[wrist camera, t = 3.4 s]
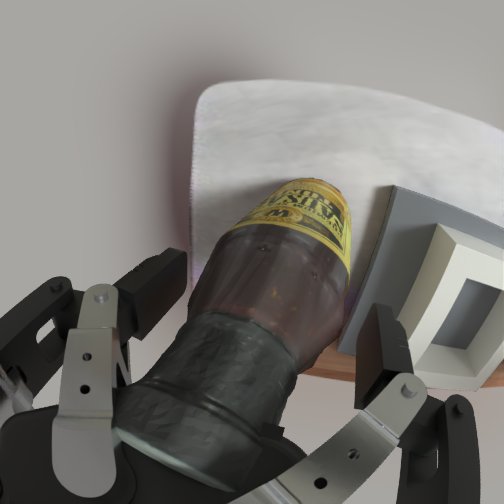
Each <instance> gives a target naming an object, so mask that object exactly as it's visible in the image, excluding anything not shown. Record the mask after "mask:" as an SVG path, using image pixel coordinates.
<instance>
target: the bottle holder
mask: <svg viewBox="0 0 504 504" xmlns="http://www.w3.org/2000/svg"><path fill="white" fill-rule="evenodd" d="M373 303H379V304H383V305H387V306H391V307H392V311H393V316H394V320H397V321H400V323H401V324H402V326H403V327H404V329H405V330H406V335H407V339H408V340H407V341H408V344H409V349H410V354H411V359H412V364H413V370H414V375H416V376H417V377H419V378H420V379H421V380H422V381H423V382H424V384H425V386H426V387H427V388H436V389H447V390H460V391H475V392H476V391H477V390H478V389H479V388H480V387H481V386H482V385H483V383H484V382H485V381H486V380H487V379H488V378H489V376H490V375H491V374H492V373H493V372H494V370H495V369H496V368H497V367H498V365H499V364H500V363H501V361H502V360H503V359H504V228H502V227H500V226H498V225H496V224H494V223H491V222H489V221H487V220H485V219H483V218H480V217H478V216H476V215H474V214H471V213H469V212H467V211H464V210H462V209H459V208H457V207H454V206H452V205H449V204H447V203H444V202H442V201H439V200H436V199H434V198H431V197H428V196H425V195H423V194H420V193H417V192H414V191H411V190H408V189H405V188H402V187H399V186H396V185H393V189H392V193H391V197H390V201H389V204H388V208H387V211H386V215H385V218H384V221H383V225H382V228H381V231H380V234H379V237H378V240H377V244H376V247H375V249H374V252H373V255H372V258H371V261H370V264H369V267H368V269H367V272H366V275H365V277H364V280H363V283H362V285H361V288H360V290H359V293H358V295H357V298H356V300H355V303H354V305H353V308H352V310H351V312H350V315H349V317H348V319H347V322H346V324H345V326H344V328H343V331H342V333H341V335H340V337H339V339H338V343H337V352H341V353H345V354H349V355H354V356H356V342H357V337H358V334H359V331H360V329H361V327H362V325H363V323H364V321H365V319H366V317H367V314H368V312H369V310H370V308H371V306H372V304H373Z"/></svg>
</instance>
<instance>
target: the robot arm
mask: <svg viewBox="0 0 504 504" xmlns="http://www.w3.org/2000/svg"><path fill="white" fill-rule="evenodd" d="M186 285H187V253H186V252H184V251H181V250H178V249H174V248H168V249H166V250H165V251H164V252H162V253H161V254H160V255H155V256H153V257H150V258H147V259H146V260H144V261H143V262H142V263H141V264H139V266H136V267H135V268H134V269H133V271H132V270H131V271H130V272H128V273H127V274H126V275H125V276H123V277H122V278H121V279H119V280H118V281H117V282H116V283H114V284H113V285H109V284H98V285H95V286H92V287H90V288H89V289H88V290H87V291H86V292H84V291H78V290H73V288H72V284H71V281H70V280H69V279H68V278H67V277H63V276H59V277H54V278H51V279H49V280H48V281H46V282H45V283H43V284H42V285H41V286H40V287H38V288H37V289H36V290H34V291H33V292H32V293H30V294H29V295H28V296H27V297H25V298H24V299H23V300H22V301H21V302H19V303H18V304H17V305H16V306H14V307H13V308H12V309H11V310H10V311H8V312H7V313H6V314H5V315H4V316H3V317H1V318H0V504H342V503H343V502H344V501H345V500H346V499H347V498H349V497H350V496H351V495H352V494H353V493H354V492H355V491H356V490H357V489H358V488H359V487H360V486H361V485H362V484H363V483H364V482H365V481H366V480H367V479H368V478H369V477H370V476H371V475H372V474H373V473H374V472H375V470H376V469H377V468H378V467H379V466H380V465H381V464H382V463H383V462H384V460H385V459H386V458H387V457H388V456H389V454H390V453H391V452H392V451H393V450H394V448H395V447H396V446H397V447H399V448H402V458H401V469H400V479H399V487H398V494H397V501H396V504H480V459H479V447H478V438H477V430H476V423H475V417H474V411H473V407H472V405H471V403H470V402H469V401H468V400H467V399H466V398H465V397H463V396H461V395H458V394H455V395H451V396H450V397H449V398H448V399H447V400H446V401H445V402H443V401H441V400H439V399H436V398H434V397H431V396H429V395H428V394H427V388H426V386H425V384H424V382H423V381H422V380H421V379H420V378H419V377H417V376H416V375H414V370H413V364H412V359H411V354H410V349H409V344H408V341H407V340H408V339H407V335H406V330H405V329H404V327H403V326H402V324H401V323H400V321H397V320H394V316H393V311H392V307H391V306H387V305H383V304H379V303H373V304H372V306H371V308H370V310H369V312H368V314H367V317H366V319H365V321H364V323H363V325H362V327H361V329H360V331H359V334H358V337H357V342H356V382H355V403H354V409H360V410H361V411H360V412H359V413H358V414H357V415H356V416H355V417H354V418H353V419H352V420H351V421H350V422H348V424H346V425H345V426H344V427H343V428H342V429H340V431H338V432H337V433H336V434H335V435H333V436H332V437H331V438H330V439H329V440H327V442H325V443H324V444H322V445H321V446H320V447H319V448H317V449H316V450H315V451H313V452H312V453H311V454H310V455H308V456H307V454H306V453H305V452H304V451H303V450H302V449H301V448H300V447H298V446H297V445H296V444H295V443H293V442H292V441H290V440H289V439H287V438H285V437H283V432H284V429H285V428H284V427H280V426H277V425H273V424H269V423H265V422H263V425H262V427H261V430H260V432H261V434H262V437H261V443H262V445H263V450H262V452H261V453H260V455H259V456H258V458H257V459H256V461H255V464H254V466H253V468H252V469H251V471H250V472H249V474H248V476H247V478H246V481H245V483H244V484H243V485H242V488H241V489H240V490H238V491H235V492H226V491H223V490H220V489H217V488H213V487H210V486H208V485H206V484H204V483H201V482H199V481H197V480H195V479H192V478H190V477H188V476H186V475H184V474H182V473H180V472H177V471H175V470H173V469H171V468H169V467H167V466H165V465H163V464H162V463H160V462H158V461H157V460H155V459H153V458H151V457H149V456H147V455H145V454H144V453H142V452H140V451H139V450H137V449H135V448H134V447H132V446H130V445H129V444H127V443H126V442H124V441H122V440H121V438H120V436H119V435H118V433H117V430H116V406H117V398H118V396H119V394H120V392H121V391H122V389H123V388H124V387H126V386H127V385H129V384H132V381H131V370H130V351H129V341H128V340H129V339H130V338H131V337H132V336H133V337H135V338H137V339H139V340H141V341H142V340H143V339H144V338H145V337H146V335H147V334H148V333H149V332H150V331H151V330H152V329H153V328H154V326H155V325H156V324H157V323H158V322H159V321H160V320H161V319H162V317H163V316H164V315H165V314H166V313H167V312H168V311H169V309H170V308H171V307H172V306H173V305H174V304H175V303H176V302H177V301H178V300H179V298H180V297H181V296H182V295H183V294H184V292H185V289H186ZM51 318H52V320H53V323H54V325H55V328H54V329H53V330H52V331H51V332H50V333H49V334H48V335H47V336H46V337H45V338H43V340H41V341H40V342H39V343H37V341H36V335H37V332H38V330H39V329H40V328H41V327H42V326H43V325H45V324H46V323H47V322H48V321H49V320H50V319H51ZM62 365H63V369H62V377H61V386H60V397H59V404H58V405H53V406H49V407H44V408H39V409H34V408H33V407H32V404H33V399H34V397H35V396H36V395H37V394H38V393H39V391H40V390H41V389H42V388H43V387H44V386H45V384H46V383H47V382H48V381H49V380H50V379H51V377H52V376H53V375H54V374H55V373H56V372H57V371H58V369H59V368H60V367H61V366H62ZM437 450H438V468H437Z"/></svg>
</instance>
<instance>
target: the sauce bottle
mask: <svg viewBox="0 0 504 504" xmlns="http://www.w3.org/2000/svg"><path fill="white" fill-rule="evenodd" d="M350 249H351V215H350V210H349V207H348V205H347V203H346V201H345V199H344V197H343V196H342V195H341V192H340V191H339V190H338V189H337V188H335V187H334V186H332V185H331V184H329V183H327V182H325V181H323V180H319V179H315V178H305V179H297V180H294V181H291V182H289V183H287V184H285V185H284V186H282V187H281V188H280V189H278V190H277V191H276V192H275V193H273V194H272V195H271V196H270V197H269V198H267V199H266V200H265V201H263V202H262V203H261V204H260V205H259V206H257V207H256V208H255V209H254V210H253V211H251V212H250V213H249V214H248V215H246V216H245V217H244V218H243V219H242V220H241V221H240V222H238V223H237V224H236V225H235V226H233V227H232V228H231V229H230V230H229V231H228V232H226V233H225V234H224V235H223V236H222V237H221V238H220V239H219V241H218V242H217V244H216V246H215V248H214V250H213V252H212V254H211V256H210V258H209V260H208V262H207V264H206V266H205V268H204V270H203V272H202V274H201V276H200V278H199V280H198V282H197V284H196V286H195V288H194V290H193V292H192V294H191V297H190V299H189V302H188V305H187V306H188V317H187V322H186V323H185V324H184V325H183V326H182V327H181V328H180V329H179V331H178V333H177V335H176V337H175V340H174V341H173V343H172V344H171V345H170V346H169V347H168V349H167V350H166V351H165V352H164V353H163V354H162V355H161V357H160V358H159V360H158V361H157V362H156V363H155V365H154V366H153V367H152V368H151V369H150V370H149V371H148V373H147V374H146V375H145V376H144V377H143V378H142V379H140V380H139V381H137V382H135V383H133V384H129V385H127V386H126V387H124V388H123V389H122V391H121V392H120V394H119V396H118V398H117V406H116V430H117V433H118V435H119V436H120V438H121V440H122V441H124V442H126V443H127V444H129V445H130V446H132V447H134V448H135V449H137V450H139V451H140V452H142V453H144V454H145V455H147V456H149V457H151V458H153V459H155V460H157V461H158V462H160V463H162V464H163V465H165V466H167V467H169V468H171V469H173V470H175V471H177V472H180V473H182V474H184V475H186V476H188V477H190V478H192V479H195V480H197V481H199V482H201V483H204V484H206V485H208V486H210V487H213V488H217V489H220V490H223V491H226V492H235V491H238V490H240V489H241V488H242V485H243V484H244V483H245V481H246V478H247V476H248V474H249V472H250V471H251V469H252V468H253V466H254V464H255V461H256V459H257V458H258V456H259V455H260V453H261V452H262V450H263V445H262V443H261V437H262V434H261V432H260V430H261V427H262V425H263V422H265V423H269V424H273V425H277V426H278V425H279V423H280V420H281V417H282V413H283V410H284V408H285V405H286V402H287V399H288V397H289V396H290V395H291V393H292V391H293V390H294V388H295V385H296V380H297V375H298V374H301V373H303V372H304V371H306V370H307V369H309V368H311V367H312V366H313V365H314V363H315V361H316V360H317V358H318V356H319V355H320V354H321V353H322V352H323V350H324V349H325V348H326V347H327V346H328V345H330V344H331V343H332V342H333V341H334V340H335V339H337V337H338V336H339V334H340V332H341V329H342V325H343V322H344V301H345V297H346V295H347V292H348V286H349V276H350Z"/></svg>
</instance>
